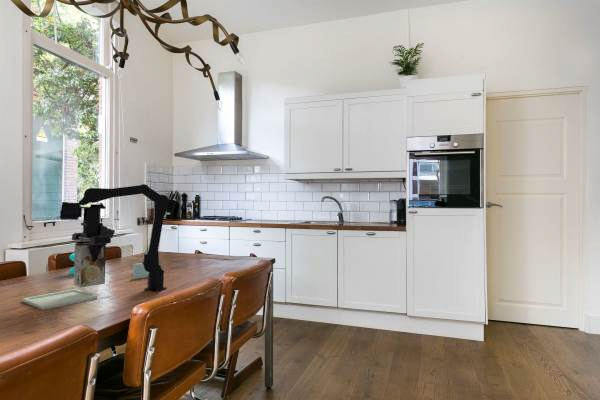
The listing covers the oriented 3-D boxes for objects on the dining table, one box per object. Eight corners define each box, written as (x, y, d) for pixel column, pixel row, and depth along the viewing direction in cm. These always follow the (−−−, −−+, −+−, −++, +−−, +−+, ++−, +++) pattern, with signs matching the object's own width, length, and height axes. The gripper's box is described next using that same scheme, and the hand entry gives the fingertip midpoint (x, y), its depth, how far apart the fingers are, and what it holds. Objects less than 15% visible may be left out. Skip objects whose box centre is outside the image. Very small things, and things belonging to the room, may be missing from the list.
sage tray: (97, 298, 138) (97, 295, 138) (42, 309, 123) (42, 306, 123) (76, 291, 147) (76, 288, 147) (22, 301, 132) (22, 298, 132)
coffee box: (97, 281, 149) (99, 241, 149) (105, 284, 145) (106, 243, 145) (72, 285, 142) (74, 243, 142) (80, 287, 138) (81, 245, 138)
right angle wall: (145, 273, 189) (146, 258, 189) (158, 276, 181) (158, 261, 181) (122, 276, 179) (122, 261, 179) (134, 280, 172) (134, 264, 172)
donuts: (90, 254, 177) (66, 255, 174) (89, 275, 177) (66, 276, 174) (95, 251, 187) (72, 252, 184) (94, 271, 187) (72, 272, 184)
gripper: (124, 221, 145) (123, 260, 145) (100, 218, 155) (99, 255, 155) (95, 221, 136) (94, 264, 135) (72, 218, 146) (70, 258, 146)
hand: (90, 260), depth 143 cm, fingers closed on coffee box, 6 cm apart
